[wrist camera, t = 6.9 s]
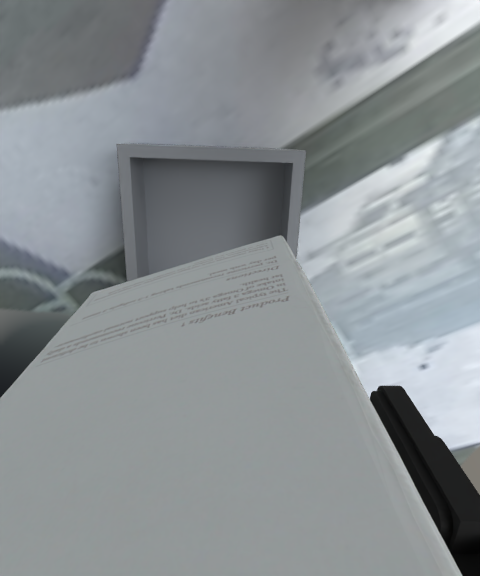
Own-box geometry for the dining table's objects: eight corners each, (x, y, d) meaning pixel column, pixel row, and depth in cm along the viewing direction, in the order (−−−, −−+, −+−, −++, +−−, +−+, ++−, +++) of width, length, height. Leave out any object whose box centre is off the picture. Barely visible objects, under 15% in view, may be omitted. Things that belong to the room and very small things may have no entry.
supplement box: (163, 442, 16) (-22, 1230, 5) (88, 287, 14) (-809, 1227, 2) (334, 400, 16) (631, 1213, 4) (290, 228, 13) (825, 1167, 1)
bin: (134, 143, 30) (116, 143, 25) (294, 149, 30) (306, 150, 26) (143, 293, 35) (129, 316, 30) (283, 296, 35) (290, 320, 30)
